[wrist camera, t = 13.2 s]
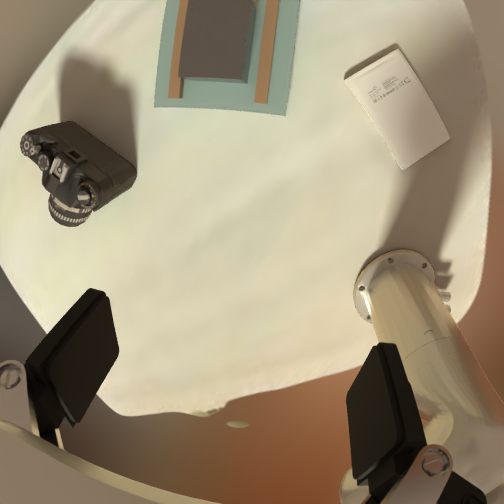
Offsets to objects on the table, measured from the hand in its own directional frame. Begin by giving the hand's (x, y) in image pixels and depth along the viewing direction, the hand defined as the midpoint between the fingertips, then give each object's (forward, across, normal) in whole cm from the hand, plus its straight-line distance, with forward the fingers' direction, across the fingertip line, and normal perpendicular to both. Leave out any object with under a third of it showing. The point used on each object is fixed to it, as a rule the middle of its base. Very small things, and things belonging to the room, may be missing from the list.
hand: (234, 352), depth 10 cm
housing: (+24, +7, -15) cm, 29 cm away
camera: (+27, +25, +2) cm, 37 cm away
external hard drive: (+28, -13, -11) cm, 33 cm away
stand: (+27, +7, -15) cm, 32 cm away
